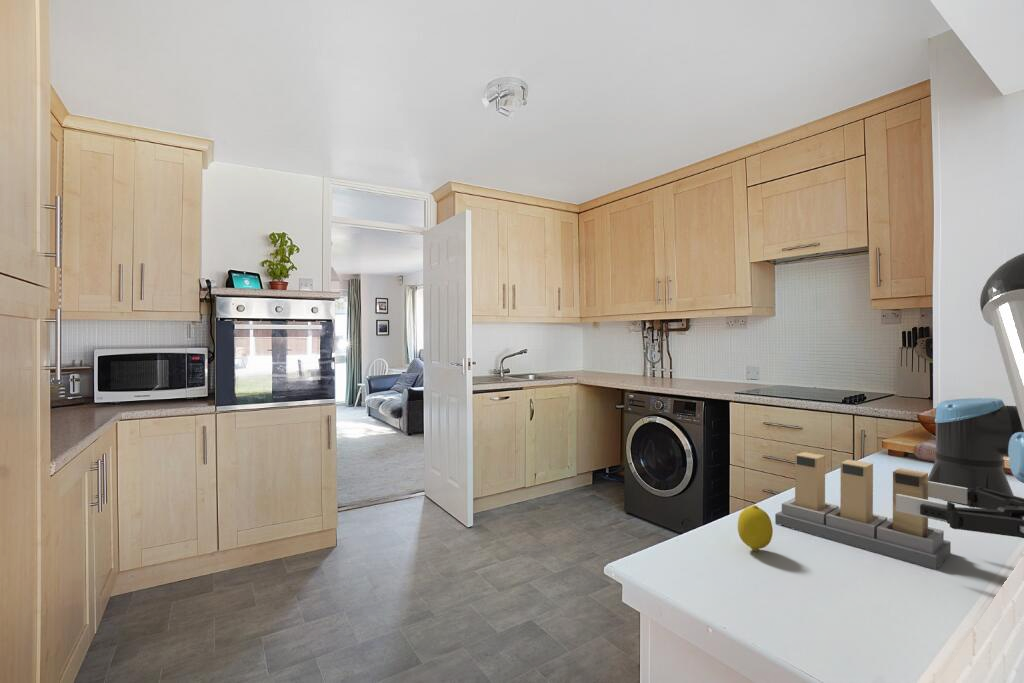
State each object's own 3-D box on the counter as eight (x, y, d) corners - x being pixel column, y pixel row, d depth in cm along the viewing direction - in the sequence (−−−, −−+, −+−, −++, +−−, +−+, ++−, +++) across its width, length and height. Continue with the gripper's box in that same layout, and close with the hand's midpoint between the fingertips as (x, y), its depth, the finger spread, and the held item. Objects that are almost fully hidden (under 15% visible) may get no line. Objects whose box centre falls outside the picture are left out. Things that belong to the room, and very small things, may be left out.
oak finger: (899, 534, 88) (899, 468, 88) (927, 541, 85) (928, 472, 85) (892, 540, 86) (892, 471, 86) (921, 547, 83) (921, 476, 83)
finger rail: (796, 512, 105) (796, 447, 105) (950, 553, 85) (950, 472, 85) (775, 523, 99) (775, 454, 99) (936, 569, 79) (936, 483, 79)
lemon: (769, 546, 88) (769, 502, 88) (775, 559, 83) (775, 512, 83) (735, 542, 90) (736, 499, 90) (739, 555, 84) (739, 508, 84)
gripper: (1091, 586, 61) (885, 532, 78) (1102, 537, 76) (927, 501, 93) (1091, 526, 61) (885, 485, 78) (1102, 489, 76) (928, 462, 93)
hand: (908, 494), depth 86 cm, fingers open, 13 cm apart
